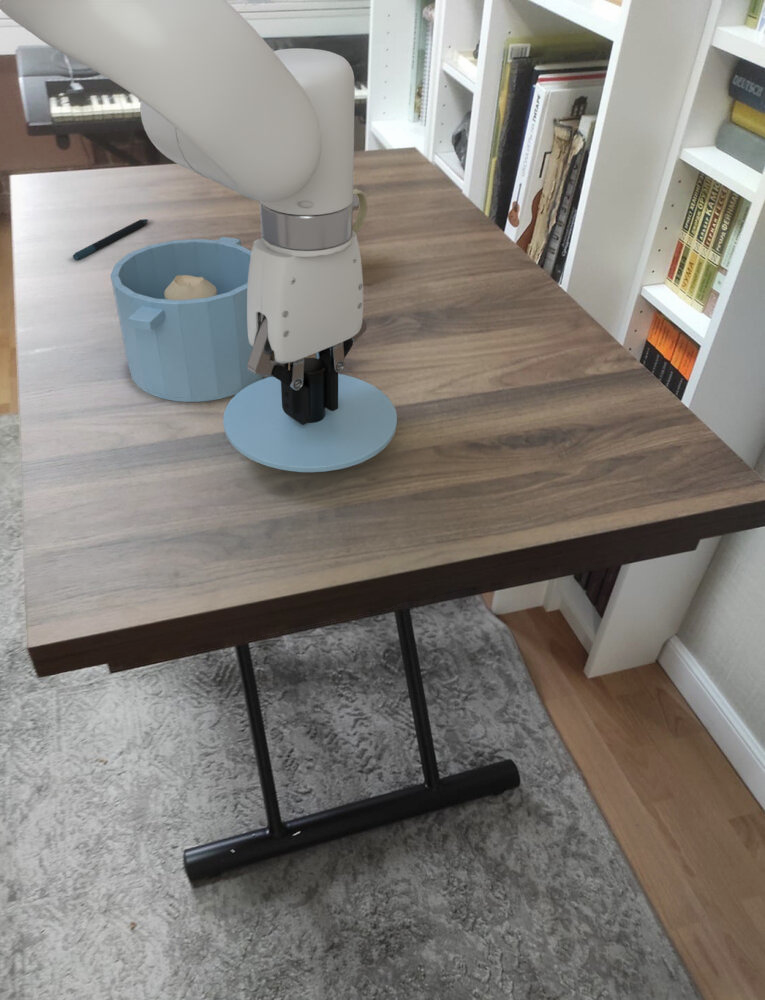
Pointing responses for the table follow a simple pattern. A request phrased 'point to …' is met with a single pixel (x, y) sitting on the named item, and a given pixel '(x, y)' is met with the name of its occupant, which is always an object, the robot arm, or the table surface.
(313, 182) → the robot arm
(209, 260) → the pot
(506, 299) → the table surface
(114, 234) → the pen
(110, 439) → the table surface
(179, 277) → the candle
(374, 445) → the lid
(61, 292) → the table surface
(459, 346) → the table surface
